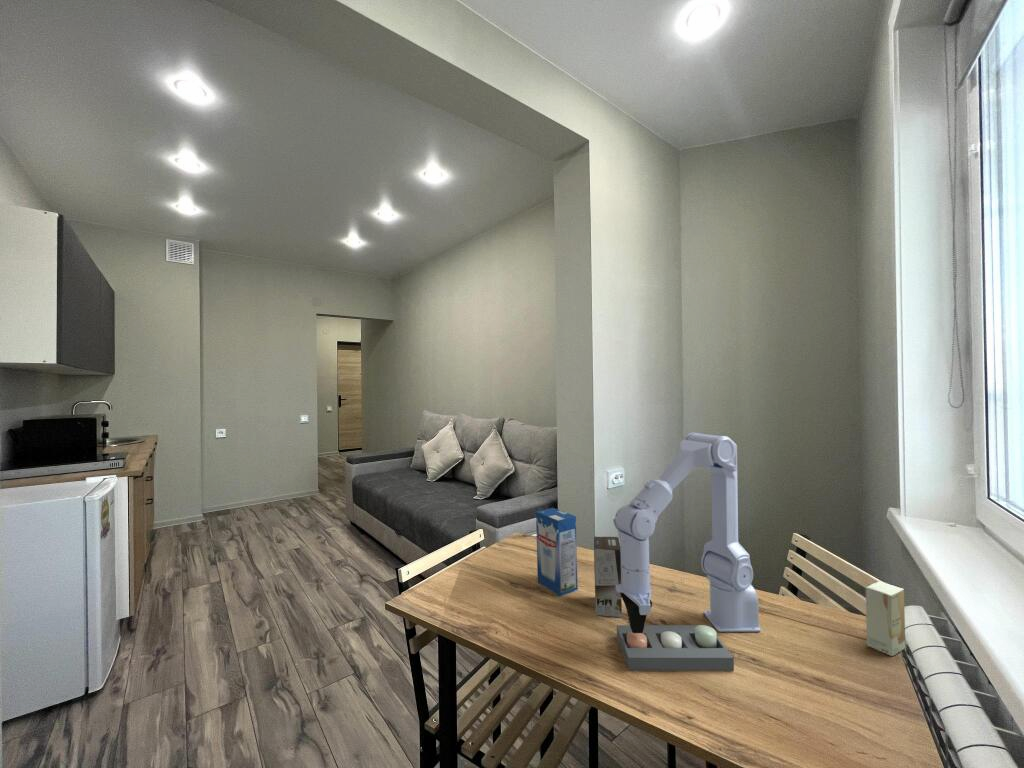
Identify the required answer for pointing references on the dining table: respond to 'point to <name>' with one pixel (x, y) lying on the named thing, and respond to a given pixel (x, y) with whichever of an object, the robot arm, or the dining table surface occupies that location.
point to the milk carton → (556, 551)
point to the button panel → (673, 651)
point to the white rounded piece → (671, 640)
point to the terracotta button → (636, 640)
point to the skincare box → (885, 618)
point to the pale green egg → (705, 637)
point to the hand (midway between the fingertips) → (636, 631)
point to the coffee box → (607, 576)
